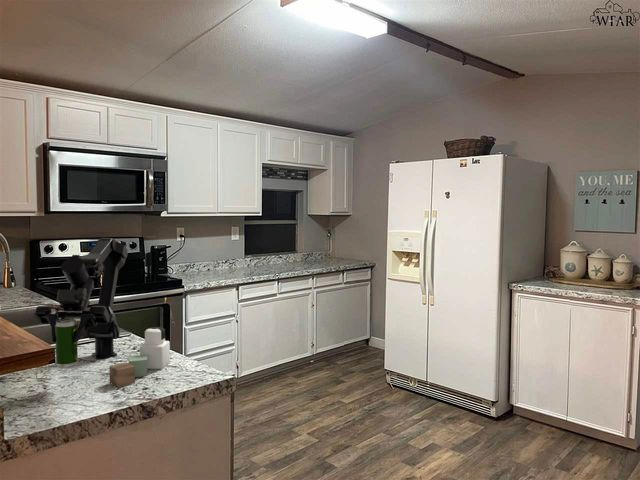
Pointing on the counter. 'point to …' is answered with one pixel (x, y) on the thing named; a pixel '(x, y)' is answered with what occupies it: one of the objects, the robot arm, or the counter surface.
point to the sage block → (139, 365)
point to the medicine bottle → (156, 348)
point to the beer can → (66, 342)
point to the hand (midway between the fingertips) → (64, 341)
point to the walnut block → (122, 374)
